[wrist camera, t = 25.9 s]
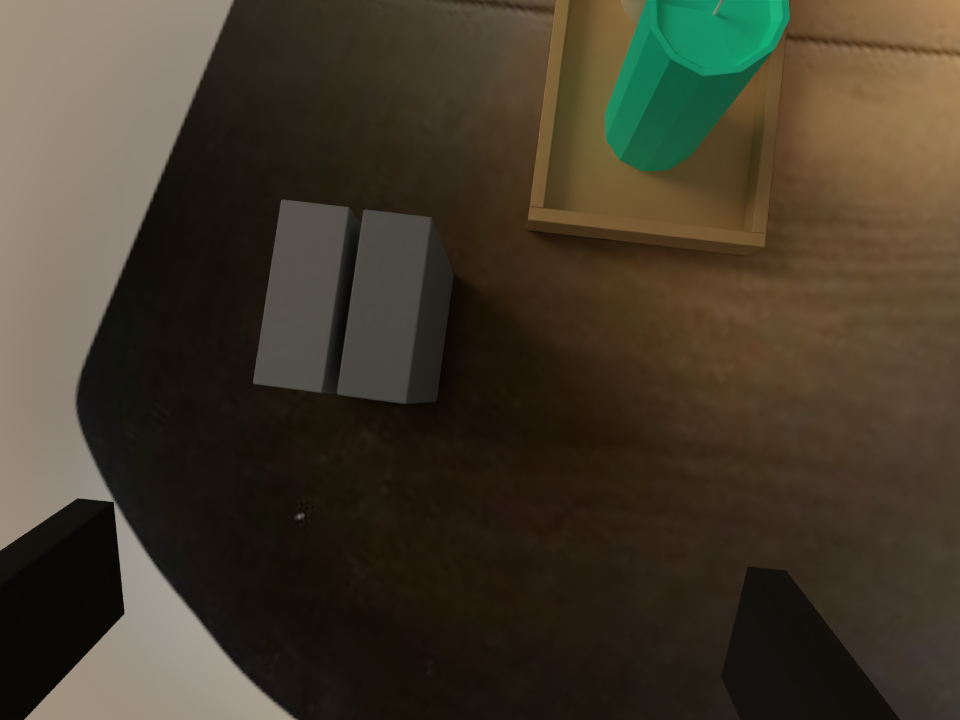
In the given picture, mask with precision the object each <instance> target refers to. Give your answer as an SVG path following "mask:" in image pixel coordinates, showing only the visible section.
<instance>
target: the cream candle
mask: <svg viewBox="0 0 960 720" xmlns="http://www.w3.org/2000/svg"><path fill="white" fill-rule="evenodd" d="M645 3H646V0H621V4H622V6H623V9H624V11H625V13H626V15H627V16H628V17H629V19H630V20H631V21H632V22H633V23H634V24H635V25H636V26H637V25H638V22H639V19H640V16H641V14H642V11H643V8H644V6H645Z"/></svg>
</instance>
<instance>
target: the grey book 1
mask: <svg viewBox="0 0 960 720" xmlns="http://www.w3.org/2000/svg"><path fill="white" fill-rule="evenodd" d="M361 224H362V223H361V222H360V221H359V219H358V218H357V217H356V216H355V214H354V213H353V212H352V211H351V209H350V208H349V207H341V206H333V205H324V204H316V203H307V202H299V201H290V200H281V205H280V212H279V218H278V225H277V231H276V238H275V244H274V251H273V257H272V263H271V270H270V276H269V283H268V289H267V296H266V302H265V309H264V315H263V322H262V328H261V335H260V341H259V348H258V354H257V361H256V367H255V373H254V380H253V383H254V384H258V385H266V386H273V387H281V388H289V389H296V390H304V391H311V392H319V393H337V389H338V382H339V375H340V368H341V361H342V355H343V348H344V341H345V334H346V327H347V320H348V313H349V307H350V300H351V293H352V286H353V279H354V272H355V265H356V258H357V252H358V245H359V238H360V231H361Z"/></svg>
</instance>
